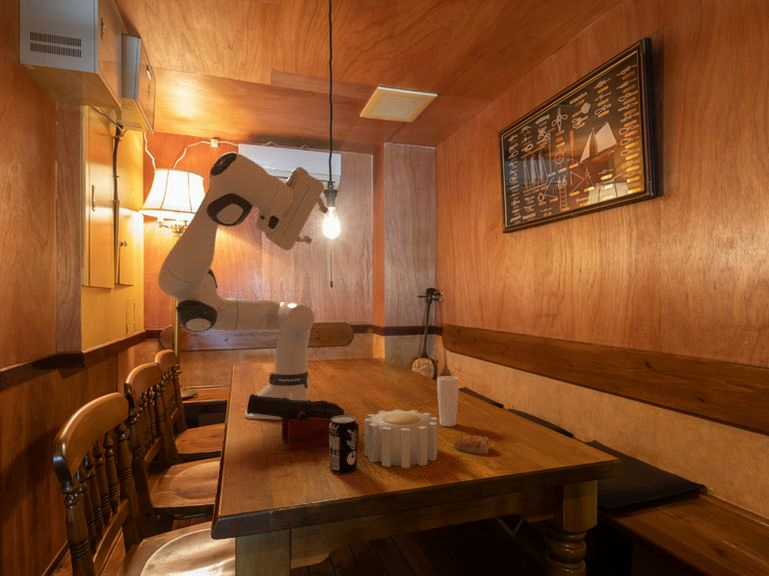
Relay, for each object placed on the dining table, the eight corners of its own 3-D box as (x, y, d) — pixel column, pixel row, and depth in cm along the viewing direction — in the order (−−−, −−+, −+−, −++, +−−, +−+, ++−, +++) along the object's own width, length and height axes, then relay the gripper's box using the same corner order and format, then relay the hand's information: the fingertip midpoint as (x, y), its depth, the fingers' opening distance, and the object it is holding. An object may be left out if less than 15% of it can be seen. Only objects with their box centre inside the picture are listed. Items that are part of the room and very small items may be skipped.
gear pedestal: (366, 469, 104) (366, 430, 104) (363, 442, 123) (363, 409, 123) (444, 466, 106) (444, 428, 106) (430, 440, 125) (430, 408, 125)
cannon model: (244, 443, 122) (245, 389, 123) (345, 430, 134) (345, 381, 134) (249, 459, 111) (249, 399, 111) (359, 443, 122) (359, 390, 122)
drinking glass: (460, 422, 142) (460, 376, 142) (456, 428, 136) (456, 380, 136) (439, 420, 144) (439, 375, 144) (435, 426, 138) (435, 379, 138)
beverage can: (358, 464, 107) (359, 415, 107) (354, 475, 101) (354, 422, 101) (332, 463, 108) (332, 414, 108) (326, 474, 101) (326, 422, 102)
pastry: (452, 452, 116) (452, 438, 116) (455, 444, 122) (455, 430, 123) (488, 456, 114) (488, 441, 114) (489, 447, 120) (489, 433, 120)
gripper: (291, 163, 113) (329, 192, 122) (253, 232, 111) (295, 256, 120) (302, 163, 108) (342, 193, 117) (263, 236, 106) (306, 261, 115)
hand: (318, 226), depth 118 cm, fingers open, 8 cm apart
